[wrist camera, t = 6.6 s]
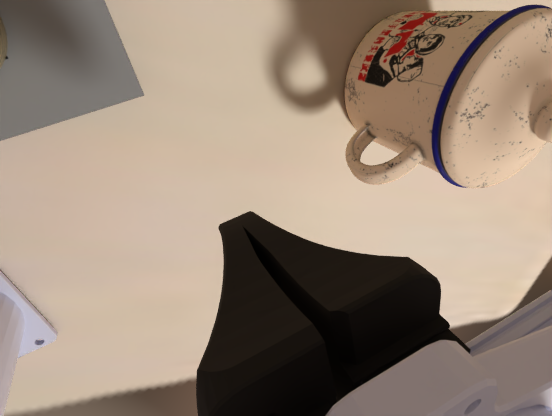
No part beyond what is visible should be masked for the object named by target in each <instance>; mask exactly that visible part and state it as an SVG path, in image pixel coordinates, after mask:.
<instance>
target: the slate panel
mask: <svg viewBox="0 0 552 416" xmlns="http://www.w3.org/2000/svg"><path fill="white" fill-rule="evenodd" d="M0 17H1V18H2V21H3V24H4V26H5V30H6V34H7V42H8V46H7V54H6V55H7V57H6V58H5V61H4V63H3V65H2V67H1V68H0V141H2V140H5V139H8V138H11V137H14V136H17V135H21V134H24V133H27V132H30V131H33V130H36V129H40V128H43V127H46V126H49V125H52V124H55V123H59V122H62V121H65V120H68V119H71V118H74V117H78V116H81V115H84V114H87V113H90V112H93V111H97V110H100V109H103V108H106V107H109V106H112V105H116V104H119V103H122V102H125V101H128V100H131V99H135V98H138V97H141V96H144V93H143V91H142V89H141V86H140V84H139V81H138V79H137V77H136V74H135V72H134V70H133V67H132V65H131V63H130V60H129V58H128V55H127V53H126V51H125V48H124V46H123V44H122V41H121V39H120V36H119V34H118V32H117V29H116V27H115V25H114V22H113V20H112V18H111V15H110V13H109V10H108V8H107V6H106V3H105V1H104V0H0Z"/></svg>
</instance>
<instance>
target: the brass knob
mask: <svg viewBox="0 0 552 416" xmlns="http://www.w3.org/2000/svg"><path fill="white" fill-rule="evenodd" d="M7 46H8V42H7V34H6V30H5V26H4V24H3V21H2V18H1V17H0V68H1V67H2V65H3V63H4V61H5V58H6V54H7Z"/></svg>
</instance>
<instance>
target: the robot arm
mask: <svg viewBox="0 0 552 416" xmlns="http://www.w3.org/2000/svg"><path fill="white" fill-rule="evenodd" d="M219 231H220V233H221V236H222V242H223V254H224V270H223V285H222V292H221V299H220V303H219V308H218V313H217V317H216V321H215V324H214V327H213V330H212V333H211V337H210V340H209V343H208V345H207V348H206V350H205V353H204V355H203V357H202V360H201V362H200V365H199V367H198V369H197V384H196V389H197V390H196V396H197V409H198V416H552V290H550V291H549V292H547V293H546V294H544V295H542V296H541V297H539V298H537V299H536V300H534V301H533V302H531V303H529V304H528V305H526V306H525V307H523V308H521V309H520V310H518V311H517V312H515V313H514V314H512V315H510V316H509V317H507V318H506V319H504V320H503V321H501V322H499V323H498V324H496V325H494V326H493V327H491V328H490V329H488V330H487V331H485V332H483V333H482V334H480V335H479V336H477V337H476V338H474V339H472V340H471V341H469V342H468V343H466V344H464V343H463V342H462V341H461V340H460V339H459V338H458V337H457V336H455V335H454V334H453V333H452V332H451V331H450V330H449V329H448V328H449V327H450V325H449V323H448V322H447V321H446V320H445V319H444V318H443V317H442V316H441V315H440V314H439V310H440V299H441V288H440V283H439V281H438V279H437V278H436V277H435V276H433V275H432V274H431V273H430V272H428V271H427V270H426V269H425V268H423V267H422V266H421V265H419V264H418V263H416V262H415V261H413V260H412V259H410V258H409V257H394V256H377V255H369V254H361V253H355V252H349V251H344V250H340V249H335V248H331V247H327V246H324V245H321V244H317V243H314V242H311V241H309V240H306V239H303V238H301V237H299V236H296V235H294V234H292V233H290V232H288V231H286V230H284V229H282V228H280V227H278V226H276V225H274V224H272V223H270V222H268V221H267V220H265V219H263V218H262V217H260V216H258V215H257V214H255V213H254V212H251V211H249V212H247V213H245V214H242V215H240V216H238V217H236V218H233V219H231V220H229V221H227V222H224V223H222V224H220V226H219ZM38 339H43V340H41V341H40V340H38ZM56 339H57V331H56V330H55V329H54V328H53V327H52V326H51V324H50V323H49V322H48V321H47V320H46V319H45V318H44V317H43V316H42V315H41V314H40V313H39V312H38V310H37V309H36V308H35V307H34V306H33V305H32V304H31V303H30V302H29V301H28V300H27V299H26V298H25V296H24V295H23V294H22V293H21V292H20V291H19V290H18V289H17V288H16V287H15V286H14V285H13V284H12V283H11V281H10V280H9V279H8V278H7V277H6V276H5V275H4V274H3V273H2V272H1V271H0V416H3V415H4V411H5V407H6V403H7V399H8V395H9V391H10V387H11V383H12V379H13V375H14V371H15V367H16V363H17V358H19V357H21V356H23V355H26V354H28V353H30V352H32V351H34V350H37V349H39V348H41V347H43V346H45V345H48V344H50V343H52V342H54V341H55V340H56Z"/></svg>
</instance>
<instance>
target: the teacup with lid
mask: <svg viewBox="0 0 552 416" xmlns="http://www.w3.org/2000/svg"><path fill="white" fill-rule="evenodd" d="M345 105H346V110H347V113H348V116H349V118H350V121H351V122H352V124H353V126H354V127H355V128H356V130H357V132H356V133H355V134H354V135H353V137H352V138H351V139H350V141H349V143H348V145H347V148H346V161H347V164H348V166H349V168H350V170H351V172H352V173H353V174H354V176H355V177H357V178H358V179H359V180H360V181H362V182H364V183H367V184H372V185H379V184H385V183H389V182H392V181H395V180H397V179H399V178H401V177H403V176H404V175H406V174H407V173H409V172H410V171H411V170H412V169H414V168H415V167H416V166H417V165H418V164H419V163H420V164H422V165H424V166H426V167H428V168H430V169H432V170H435V171H437V172H439V173H440V174H441V175H442V176H443V178H444V179H446V180H447V181H448V182H450V183H451V184H453V185H456V186H459V187H465V188H484V187H489V186H492V185H495V184H498V183H500V182H502V181H504V180H506V179H508V178H510V177H511V176H513V175H514V174H516V173H517V172H518V171H520V170H521V169H522V168H523V167H525V166H526V165H527V164H528V163H529V162H530V161H531V160H532V159H533V158H534V157H535V156H536V155H537V154H538V153H539V151H540V150H541V149H542V148H543V147H544V145H545V144H546V143H547V142H551V143H552V9H551V8H549V7H546V6H543V5H527V6H522V7H519V8H516V9H513V10H511V11H404V12H399V13H396V14H393V15H391V16H389V17H387V18H385V19H384V20H382V21H381V22H379V23H378V24H377V25H375V26H374V27H373V28H372V29H371V30H370V31H369V32H368V33H367V35H366V36H365V37H364V38H363V40H362V41H361V43H360V44H359V46H358V47H357V49H356V51H355V53H354V55H353V57H352V59H351V62H350V65H349V68H348V71H347V76H346V81H345ZM372 141H374V142H376V143H378V144H380V145H383V146H385V147H387V148H389V149H391V150H393V151H395V152H397V153H399V155H397V156H396V157H395V158H393V159H392V160H390V161H388V162H385V163H383V164H379V165H373V166H370V165H365V164H363V163H361V162H360V157H361V154H362V152H363V151H364V149H365V148H366V147H367V146H368V145H369V144H370V143H371V142H372Z"/></svg>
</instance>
